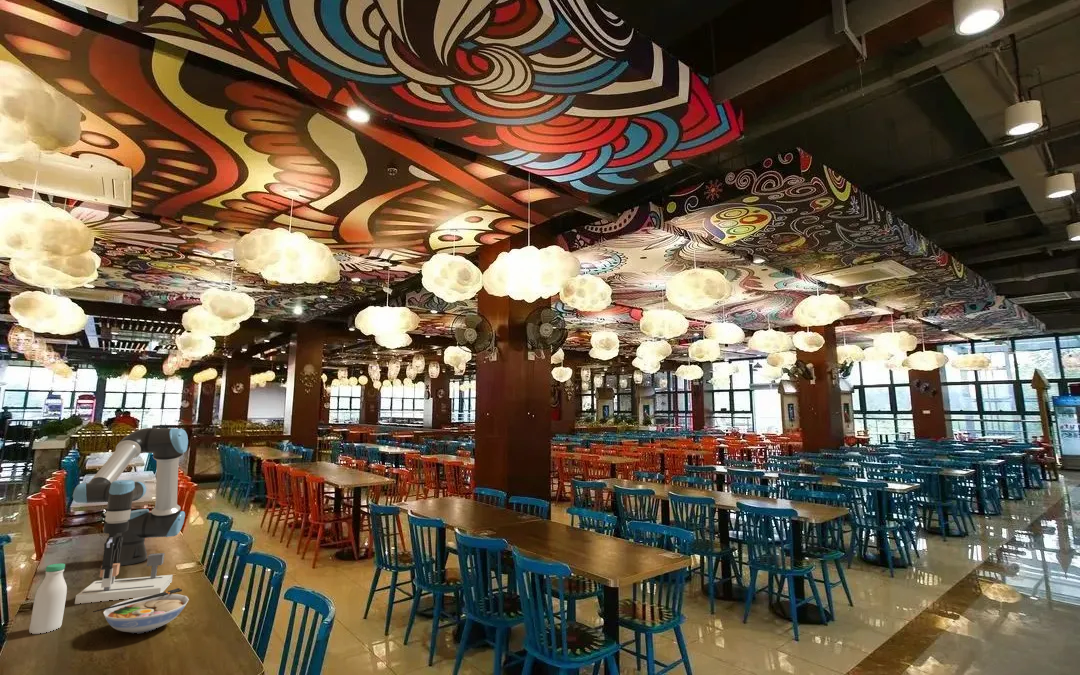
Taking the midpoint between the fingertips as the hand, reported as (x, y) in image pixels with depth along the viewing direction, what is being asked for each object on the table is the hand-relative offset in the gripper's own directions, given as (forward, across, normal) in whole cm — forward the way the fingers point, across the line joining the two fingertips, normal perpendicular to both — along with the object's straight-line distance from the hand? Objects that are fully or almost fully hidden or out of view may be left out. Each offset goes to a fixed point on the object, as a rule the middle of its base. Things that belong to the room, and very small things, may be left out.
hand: (107, 585), depth 194 cm
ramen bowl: (+5, +38, +21) cm, 44 cm away
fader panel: (+5, -6, +5) cm, 9 cm away
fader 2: (+2, -12, +12) cm, 17 cm away
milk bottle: (+5, +28, -8) cm, 29 cm away
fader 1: (+2, 0, 0) cm, 2 cm away
